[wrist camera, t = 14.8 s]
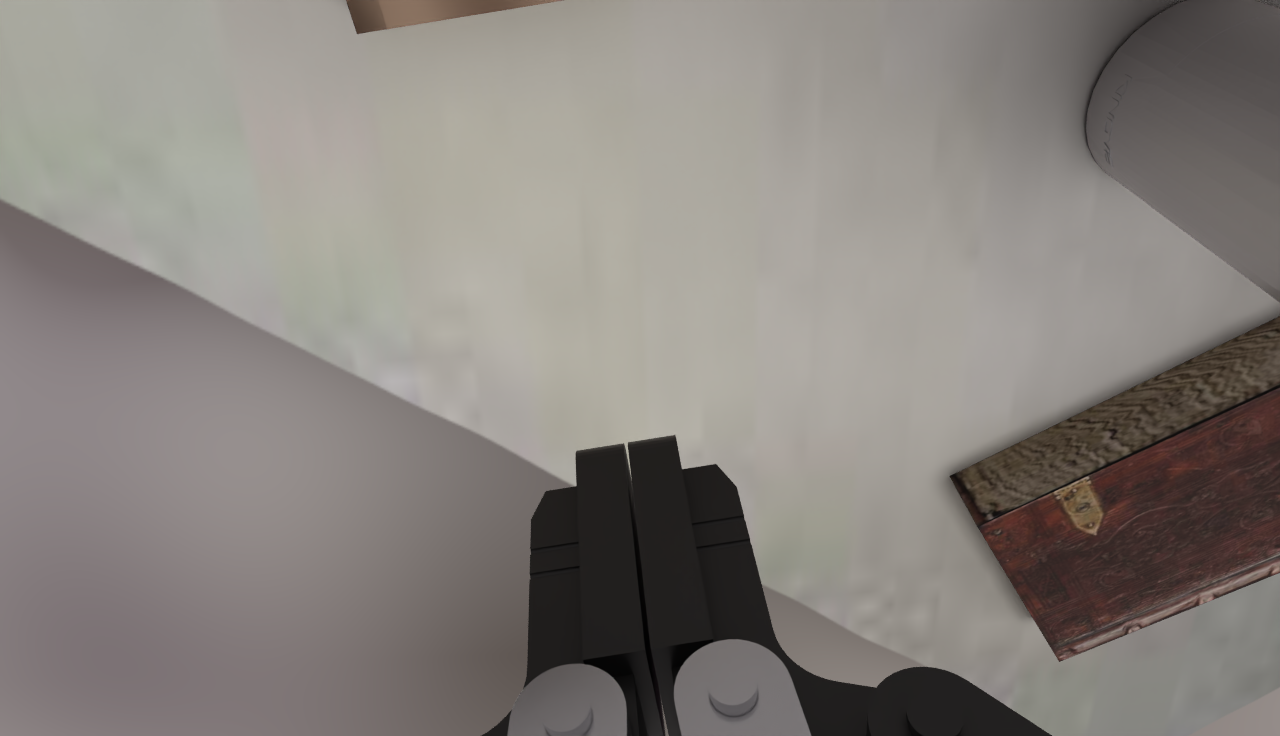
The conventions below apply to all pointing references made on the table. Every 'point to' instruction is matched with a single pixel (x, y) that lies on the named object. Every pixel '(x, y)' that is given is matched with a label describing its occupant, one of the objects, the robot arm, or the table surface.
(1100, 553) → the latched wooden chest
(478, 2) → the trap box
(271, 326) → the table surface
